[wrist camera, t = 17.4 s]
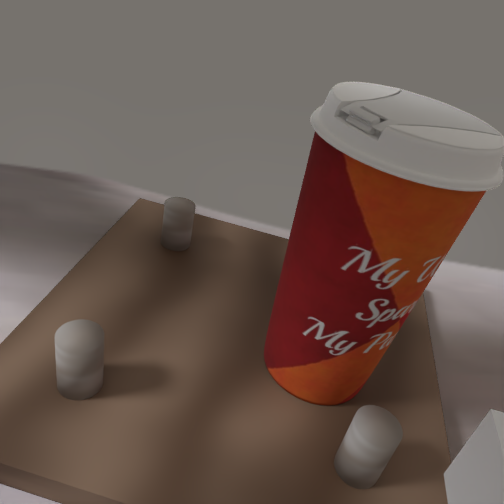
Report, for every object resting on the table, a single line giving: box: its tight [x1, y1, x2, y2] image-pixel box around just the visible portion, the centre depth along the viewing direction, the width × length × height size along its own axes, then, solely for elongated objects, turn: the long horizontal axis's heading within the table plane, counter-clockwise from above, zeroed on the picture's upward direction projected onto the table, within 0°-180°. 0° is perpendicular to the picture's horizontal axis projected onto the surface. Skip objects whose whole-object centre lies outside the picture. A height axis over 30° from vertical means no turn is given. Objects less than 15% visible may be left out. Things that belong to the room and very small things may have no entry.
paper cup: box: [264, 82, 504, 405], centre depth 22 cm, size 8×8×14 cm
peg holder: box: [0, 197, 451, 504], centre depth 27 cm, size 22×22×4 cm
